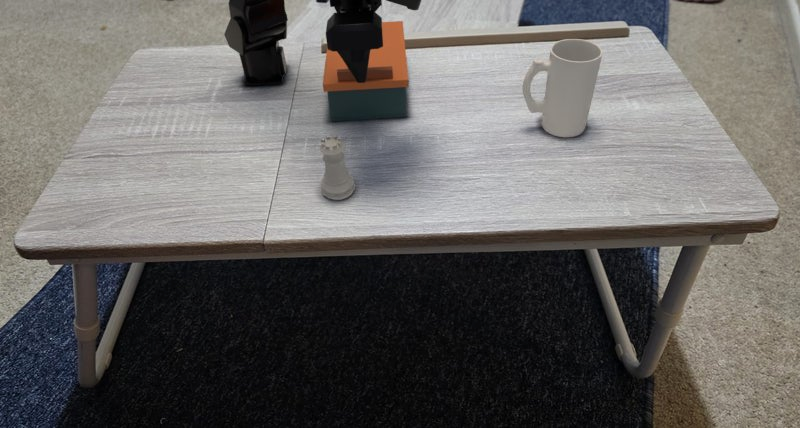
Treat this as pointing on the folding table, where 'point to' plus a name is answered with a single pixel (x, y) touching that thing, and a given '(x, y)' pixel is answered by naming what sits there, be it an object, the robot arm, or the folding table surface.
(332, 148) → the rook chess piece
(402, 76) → the bin lid
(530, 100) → the mug
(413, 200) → the folding table surface
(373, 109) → the bin
